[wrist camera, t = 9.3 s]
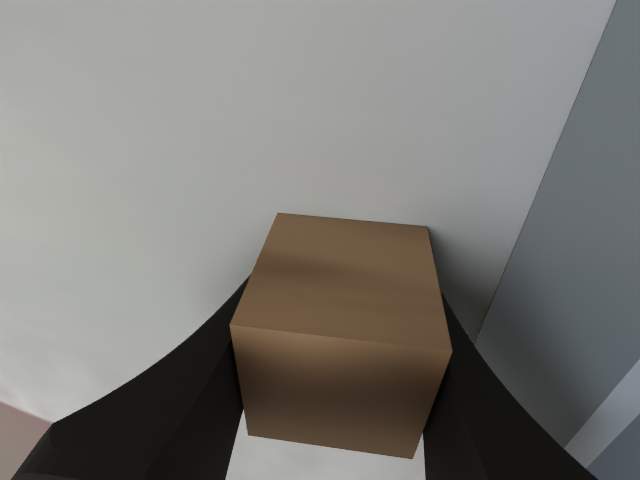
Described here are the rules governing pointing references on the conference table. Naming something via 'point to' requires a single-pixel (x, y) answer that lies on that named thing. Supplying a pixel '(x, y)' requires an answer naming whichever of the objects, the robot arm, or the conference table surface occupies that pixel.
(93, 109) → the conference table surface
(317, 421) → the walnut cube
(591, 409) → the box
